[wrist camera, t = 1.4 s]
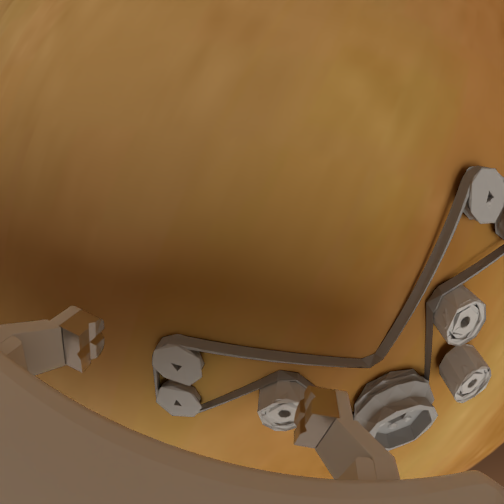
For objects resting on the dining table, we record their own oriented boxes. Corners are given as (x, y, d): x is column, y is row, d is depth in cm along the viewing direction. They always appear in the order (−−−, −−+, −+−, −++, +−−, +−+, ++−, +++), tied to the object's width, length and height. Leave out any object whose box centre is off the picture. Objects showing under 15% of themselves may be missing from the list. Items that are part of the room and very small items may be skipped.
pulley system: (523, 316, 16) (497, 141, 12) (553, 346, 11) (549, 147, 8) (248, 455, 22) (130, 345, 18) (244, 498, 18) (101, 392, 14)
